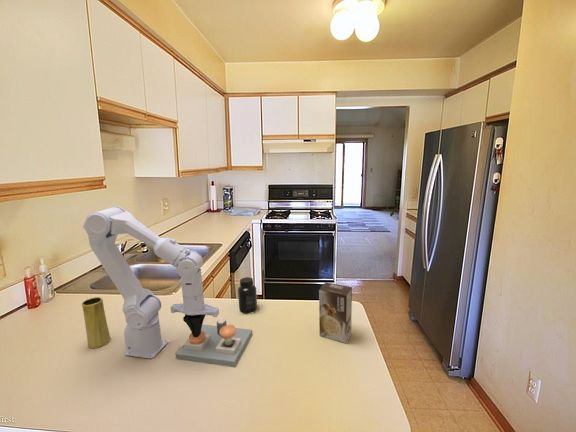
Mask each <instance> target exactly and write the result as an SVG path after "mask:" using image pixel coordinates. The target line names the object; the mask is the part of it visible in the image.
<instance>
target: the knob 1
mask: <svg viewBox="0 0 576 432" xmlns="http://www.w3.org/2000/svg"><path fill="white" fill-rule="evenodd" d="M188 339H189V342H190V343H191V344H200V343H201V342H203V341H204V340H205V332H203V331H201V334H200V335H199V336H198V337H193V335H192V332H191V333H190V334H189V335H188Z"/></svg>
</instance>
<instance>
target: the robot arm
mask: <svg viewBox="0 0 576 432" xmlns="http://www.w3.org/2000/svg"><path fill="white" fill-rule="evenodd" d="M82 227H83V229H84V231H85V232H86V234H87V236H88V241H89V246H90V248H91V250H92V252H93V253H94V255H95V257H96V258H97V259H98V261H99V263H100V264H101V266H102V268H104V270H105V272H106V274H107V275H108V277H109V278H110V280H111V282H112V283H113V284H114V286H115V288H116V289H117V290H118V292H119V293H120V295H121V296H122V299H123V300H124V301H123V304H122V305H123V306H122V312H123V314H124V316H125V323H126V325H125V327H124V331H123V336H124V337H123V338H124V343H125V350H126V351H125V352H124V356H127V357H129V356H131V357H136V358H144V359H154V358H155V357H156V356H157V355H158V354H159V353H160V351H162V350H163V348H164V347H165V346H166V345H168V343H169V340H168V339H167V340H166V339H162V333H161V331H162V330H161V324H160V317H159V312H160V310H161V308H162V301H161V299H160V298H159V297H158V296H156V295H155V294H154V293H153V291H152V290H151V289H148V288H144V287H143V286H142V284H141V283H140V281H139V280H138V279H139V278H137V276H136V275H135V273H134V271H133V269H132V268H131V266H130V265H129V263H128V262H127V260H126V259H125V257H124V255H123V253H122V252H121V249H119V247H118V246H117V243H116V240H117V238H118V235H123V234H126V235H129V236H130V237H133V238H135V239H136V240H138V241H140V242H141V243H143V244H145V245H146V246H149V247H151V248H152V249H153V252H154V255H156V256H157V257H158V258H159V259H161V260H163V261H164V262H167V264H169V265H171V266H172V267H174V268H175V270H176V273H177V274H178V276H179V277H180V283H181V285H180V286H181V292H182V303H173V304H172V305H171V306H170V313H171V314H175V313H181V314H184V316H183V317H182V319H183V322H185V324H186V325H187V327H188V328H189V330H190V332H191V333H192V335H193V337H198V336H199V335H200V334H201V328H202V324H204V320H205V318H206V316H212V317H213V318H217V317H218V316H219V315H220V308H219V307H216V306H212V305H209V304H206V303H205V297H204V287H203V286H204V285H203V276H202V269H201V267H202V266H203V263H204V258H203V256H202V255H201V254H200V253H199V252H198V250H191V249H189V248H185V247H184V246H183V245H181V244H179V243H178V242H177V240H176V239H175V238H173V237H172V238H170V237H161V236H160V235H158V234H156V233H155V232H154V231H153V230H151V229H150V228H149V227H147V226H146V225H144V224H143V223H141V222H140V221H139V220H138V219H136V218H135V217H134V216H133V214H132V213H131V212H129V211H127V210H126V209H124V208H123V207H121V206H119V205H118V206H117V205H114V206H111V207H107V208H106V209H105V208H104V209H102V210H98V211H92V212H90V213H89V214H88V215H87V216H86V218H85V221H84V224H83V226H82Z"/></svg>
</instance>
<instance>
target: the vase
mask: <svg viewBox="0 0 576 432" xmlns="http://www.w3.org/2000/svg"><path fill="white" fill-rule="evenodd" d="M81 306H82V311H83V318H84V323H85V324H84V325H85V332H86V338H87V339H86V340H87V348H90V349H98V348H102V347H104V346H105V345H107V344H108V343H109V342H110V341H111V336H110V331H109V327H108V323H107V316H106V311H105V307H104V301H103V297H99V296H95V297H90V298H87V299H85V300H84V301H82V303H81Z"/></svg>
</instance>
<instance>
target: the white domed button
mask: <svg viewBox="0 0 576 432" xmlns="http://www.w3.org/2000/svg"><path fill="white" fill-rule="evenodd" d="M226 325H228V324H227V320H225V319H224V318H220V319H219V320H217V322H216V326H217V333H218V335H220V332H219V330H220V328H221V327H223V326H226Z"/></svg>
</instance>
